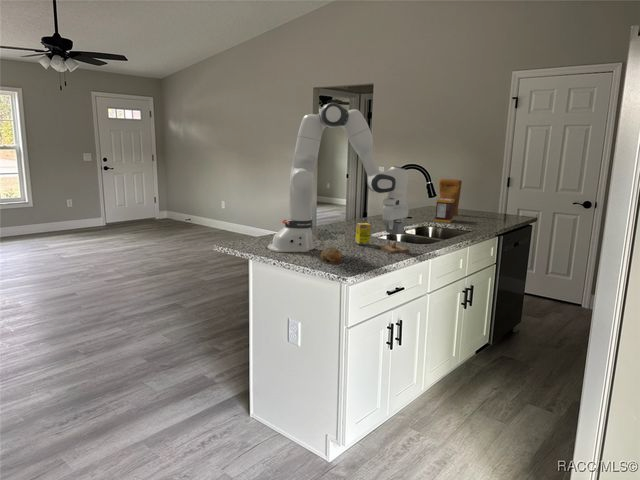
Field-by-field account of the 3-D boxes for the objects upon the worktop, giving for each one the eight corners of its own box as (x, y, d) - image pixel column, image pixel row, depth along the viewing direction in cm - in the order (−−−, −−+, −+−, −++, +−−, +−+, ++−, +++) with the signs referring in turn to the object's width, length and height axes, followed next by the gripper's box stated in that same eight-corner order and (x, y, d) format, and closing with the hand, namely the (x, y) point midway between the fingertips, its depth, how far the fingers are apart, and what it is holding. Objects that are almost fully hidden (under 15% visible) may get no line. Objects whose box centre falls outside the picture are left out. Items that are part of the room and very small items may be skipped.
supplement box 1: (359, 245, 236) (360, 224, 234) (355, 243, 242) (356, 222, 240) (369, 245, 238) (371, 224, 236) (365, 243, 244) (366, 222, 241)
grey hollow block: (397, 234, 223) (398, 224, 222) (386, 232, 227) (386, 222, 226) (403, 232, 228) (404, 222, 227) (392, 230, 232) (393, 220, 231)
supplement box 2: (453, 220, 337) (455, 198, 334) (449, 222, 324) (451, 200, 321) (438, 218, 342) (440, 197, 338) (434, 221, 328) (436, 199, 325)
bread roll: (318, 269, 202) (315, 255, 197) (325, 255, 210) (323, 241, 205) (339, 272, 199) (337, 257, 194) (346, 257, 206) (344, 243, 202)
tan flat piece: (389, 253, 222) (390, 244, 221) (378, 248, 232) (378, 240, 231) (409, 251, 226) (409, 243, 226) (397, 247, 236) (397, 239, 235)
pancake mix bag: (456, 216, 355) (459, 180, 350) (435, 213, 368) (438, 178, 363) (460, 216, 360) (464, 179, 354) (439, 212, 373) (442, 178, 368)
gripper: (401, 198, 234) (399, 225, 237) (381, 201, 218) (379, 229, 221) (412, 199, 231) (410, 226, 233) (393, 202, 214) (391, 231, 217)
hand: (395, 228), depth 227 cm, fingers closed on grey hollow block, 6 cm apart
